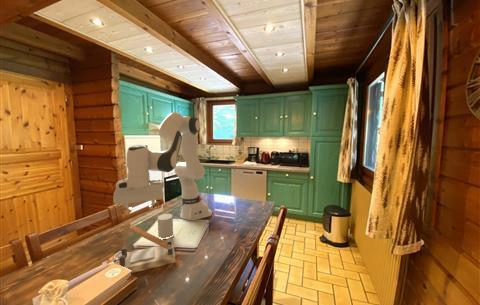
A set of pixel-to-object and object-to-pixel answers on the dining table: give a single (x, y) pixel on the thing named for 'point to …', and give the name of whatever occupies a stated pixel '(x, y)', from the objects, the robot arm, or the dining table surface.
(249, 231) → the dining table surface
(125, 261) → the latch board
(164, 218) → the cup
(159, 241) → the brown wooden bar
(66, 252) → the dining table surface
